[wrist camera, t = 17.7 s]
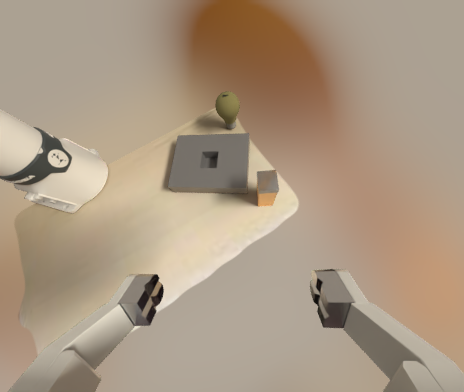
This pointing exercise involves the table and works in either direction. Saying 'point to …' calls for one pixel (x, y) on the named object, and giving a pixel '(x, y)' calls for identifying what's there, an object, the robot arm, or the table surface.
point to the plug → (267, 187)
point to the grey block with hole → (210, 164)
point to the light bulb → (228, 108)
